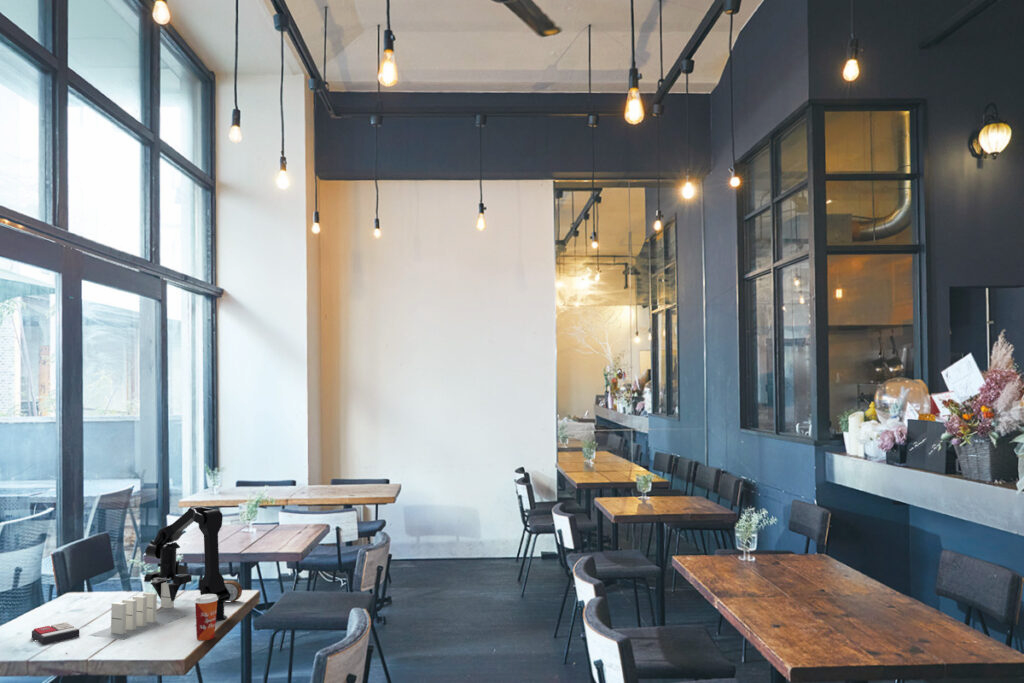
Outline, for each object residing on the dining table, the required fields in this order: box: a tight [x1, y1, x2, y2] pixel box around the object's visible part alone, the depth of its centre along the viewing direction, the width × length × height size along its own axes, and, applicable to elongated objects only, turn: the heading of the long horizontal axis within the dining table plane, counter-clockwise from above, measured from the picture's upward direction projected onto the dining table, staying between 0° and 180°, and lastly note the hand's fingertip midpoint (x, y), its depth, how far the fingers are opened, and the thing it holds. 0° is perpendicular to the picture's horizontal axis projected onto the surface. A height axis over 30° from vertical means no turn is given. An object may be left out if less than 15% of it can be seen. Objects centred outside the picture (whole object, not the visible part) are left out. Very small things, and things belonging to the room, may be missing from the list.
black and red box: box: [31, 622, 80, 646], centre depth 250 cm, size 11×4×15 cm
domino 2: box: [121, 598, 137, 630], centre depth 257 cm, size 2×5×10 cm, turn 71°
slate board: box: [89, 612, 186, 641], centre depth 261 cm, size 28×16×1 cm, turn 161°
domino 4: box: [142, 591, 158, 622], centre depth 266 cm, size 2×5×10 cm, turn 71°
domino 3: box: [132, 595, 147, 626], centre depth 261 cm, size 2×5×10 cm, turn 71°
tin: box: [217, 579, 243, 603], centre depth 294 cm, size 15×3×8 cm, turn 84°
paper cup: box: [193, 594, 218, 642], centre depth 249 cm, size 8×8×14 cm
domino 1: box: [110, 601, 126, 634], centre depth 253 cm, size 2×5×10 cm, turn 71°
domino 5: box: [160, 582, 175, 609], centre depth 284 cm, size 2×5×10 cm, turn 71°
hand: (167, 600), depth 284 cm, fingers closed on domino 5, 5 cm apart
